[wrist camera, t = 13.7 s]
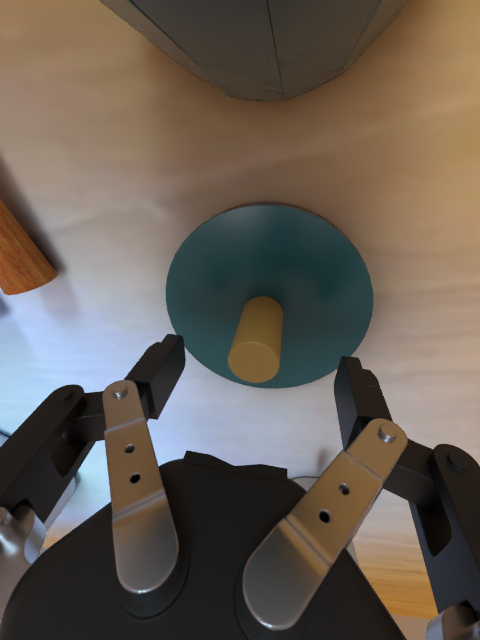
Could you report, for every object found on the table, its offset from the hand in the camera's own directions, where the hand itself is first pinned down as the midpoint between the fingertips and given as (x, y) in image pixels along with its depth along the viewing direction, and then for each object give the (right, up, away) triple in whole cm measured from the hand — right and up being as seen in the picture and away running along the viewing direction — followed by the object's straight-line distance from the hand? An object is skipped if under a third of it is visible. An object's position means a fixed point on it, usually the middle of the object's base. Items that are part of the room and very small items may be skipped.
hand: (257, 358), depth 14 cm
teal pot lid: (+1, +3, +4) cm, 5 cm away
